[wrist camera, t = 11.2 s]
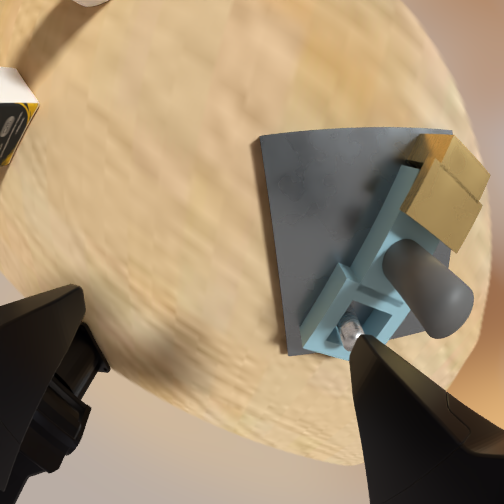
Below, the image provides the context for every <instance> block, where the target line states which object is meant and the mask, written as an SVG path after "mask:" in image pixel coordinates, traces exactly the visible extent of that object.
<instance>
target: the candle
mask: <svg viewBox="0 0 504 504" xmlns="http://www.w3.org/2000/svg"><path fill="white" fill-rule="evenodd" d="M73 1H74V2H76V3H78V4H80V5H82V6H85V7H92V6H96V5H100V4H102V3H104V2H106V1H108V0H73Z"/></svg>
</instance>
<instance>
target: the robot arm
mask: <svg viewBox="0 0 504 504" xmlns="http://www.w3.org/2000/svg"><path fill="white" fill-rule="evenodd" d="M85 310H86V308H85V301H84V295H83V290H82V288H81V287H80V286H77V285H73V284H69V285H66V286H63V287H60V288H56V289H53V290H50V291H47V292H43V293H40V294H37V295H34V296H31V297H27V298H24V299H21V300H18V301H15V302H12V303H9V304H6V305H2V306H0V504H15V503H16V501H17V499H18V497H19V495H20V493H21V491H22V489H23V487H24V485H25V483H26V481H27V479H28V478H29V477H30V476H34V475H37V474H39V473H42V472H48V473H52V472H54V471H56V470H58V469H59V467H60V465H61V463H62V461H63V458H64V456H65V455H66V456H67V455H69V454H71V453H72V452H73V451H74V450H75V449H76V447H77V446H78V444H79V442H80V440H81V438H82V435H83V432H84V429H85V426H86V423H87V420H88V417H89V414H90V411H91V407H90V406H88V405H86V404H85V403H84V402H82V401H81V399H82V397H83V396H84V394H85V392H86V390H87V389H88V387H89V385H90V384H91V382H92V380H93V379H94V377H95V375H96V374H97V372H106V373H108V372H109V371H110V369H111V368H110V366H109V365H108V363H107V361H106V359H105V358H104V356H103V354H102V352H101V350H100V349H99V347H98V345H97V343H96V341H95V339H94V337H93V335H92V333H91V331H90V329H89V327H88V326H87V324H85V323H83V322H81V321H82V319H83V317H84V315H85ZM349 363H350V373H351V383H352V393H353V401H354V406H355V411H356V416H357V422H358V427H359V432H360V438H361V444H362V450H363V456H364V462H365V469H366V476H367V482H368V490H369V498H370V504H504V430H503V429H501V428H499V427H497V426H496V425H494V424H493V423H491V422H490V421H488V420H487V419H485V418H484V417H482V416H481V415H479V414H477V413H476V412H474V411H473V410H471V409H470V408H468V407H467V406H465V405H464V404H463V403H461V402H460V401H458V400H457V399H456V398H454V397H453V396H452V395H451V394H449V393H448V392H446V391H445V390H444V389H443V388H441V387H440V386H439V385H437V384H436V383H435V382H433V381H432V380H431V379H430V378H428V377H427V376H426V375H424V374H423V373H422V372H420V371H419V370H418V369H416V368H415V367H414V366H412V365H411V364H410V363H408V362H407V361H406V360H404V359H403V358H402V357H400V356H399V355H398V354H397V353H395V352H394V351H393V350H391V349H390V348H389V347H387V346H386V345H385V344H383V343H382V342H381V341H379V340H378V339H377V338H375V337H374V336H373V335H368V334H361V335H359V336H358V338H357V340H356V342H355V344H354V346H353V348H352V351H351V353H350V356H349Z"/></svg>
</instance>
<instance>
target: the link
mask: <svg viewBox="0 0 504 504" xmlns="http://www.w3.org/2000/svg"><path fill="white" fill-rule="evenodd" d="M419 172H420V169H417V168H413V167H408V166H404V165H401V167H400V169H399V172H398V174H397V176H396V178H395V181H394V183H393V185H392V187H391V189H390V191H389V194H388V196H387V198H386V200H385V202H384V204H383V206H382V208H381V210H380V212H379V214H378V216H377V218H376V220H375V222H374V224H373V226H372V228H371V230H370V232H369V234H368V236H367V237H366V239H365V241H364V243H363V245H362V247H361V249H360V250H359V252H358V254H357V256H356V258H355V259H354V261H353V263H352V265H351V267H348V266H345V265H343V264H341V263H338V264H337V265H336V267H335V269H334V271H333V273H332V274H331V276H330V278H329V280H328V281H327V283H326V285H325V287H324V288H323V290H322V292H321V293H320V295H319V297H318V298H317V300H316V302H315V303H314V305H313V307H312V308H311V310H310V312H309V313H308V315H307V317H306V318H305V320H304V321H303V323H302V325H301V326H300V334H301V340H302V347H303V348H304V349H307V350H311V351H314V352H318V353H321V354H325V355H329V356H332V357H336V358H340V359H343V360H347V361H349V356H350V353H351V352H350V351H347V350H345V349H344V347H343V343H342V340H341V337H340V334H339V331H338V328H337V326H336V325H337V323H338V322H339V320H340V319H341V317H342V316H343V314H344V313H345V311H346V310H347V308H348V307H349V305H350V304H351V302H352V301H353V300H354V301H357V302H359V303H362V304H365V305H367V306H370V307H373V308H374V310H373V311H372V313H371V314H370V316H369V317H368V319H367V320H366V321H365V323H364V324H363V326H362V329H363V332H364V334H368V335H373V336H374V337H375V338H377V339H378V340H379V341H381V342H382V343H383V344H386V343H387V341H388V340H389V339H390V338H391V336H392V335H393V334H394V332H395V331H396V330H397V328H398V327H399V325H400V324H401V323H402V321H403V320H404V318H405V317H406V316H407V314H408V313H409V311H410V310H411V311H412V312H413V314H414V315H415V316H416V318H417V319H418V321H419V322H420V323H421V325H422V326H423V328H424V329H425V331H426V332H427V334H428V335H429V336H430V337H432V338H435V339H441V338H445V337H447V336H449V335H451V334H453V333H454V332H456V331H457V330H458V329H459V328H460V327H461V326H462V325H463V324H464V323H465V321H466V320H467V318H468V317H469V315H470V313H471V310H472V307H473V302H474V296H473V292H472V290H471V289H470V288H469V287H468V286H467V285H466V284H465V283H464V282H463V281H462V280H461V279H460V278H458V277H457V276H456V275H455V274H454V273H453V272H452V271H450V270H449V269H448V268H447V267H446V266H445V265H443V264H442V263H441V262H440V261H439V260H438V259H436V258H435V257H434V256H433V253H434V251H435V249H436V248H437V246H438V244H439V242H440V240H439V239H437V238H436V237H435V236H434V235H432V234H431V233H430V232H429V231H427V230H426V229H425V228H423V227H422V226H421V225H419V224H418V223H417V222H416V221H414V220H413V219H411V218H410V217H409V216H407V215H406V214H405V213H403V212H402V211H401V210H399V209H400V207H401V205H402V203H403V201H404V200H405V198H406V196H407V194H408V192H409V191H410V189H411V187H412V185H413V183H414V181H415V179H416V177H417V175H418V174H419Z"/></svg>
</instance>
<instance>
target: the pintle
mask: <svg viewBox="0 0 504 504" xmlns="http://www.w3.org/2000/svg"><path fill="white" fill-rule="evenodd" d="M337 328H338V331H339V334H340V337H341V340H342V343H343V347H344V349H345V350H347V351H350V352H351V351H352V348H353V346H354V344H355V342H356V340H357V338H358V336H359V335H361V334H364V332H363V329H362V327H361V325H360V323H359V320H358V318H357V316H356V314H355V312H354V309H353V307H352V305H351V304H350V305H349V307H348V308H347V310H346V311H345V313H344V314H343V316H342V317H341V319H340V320H339V322H338V323H337Z"/></svg>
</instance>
